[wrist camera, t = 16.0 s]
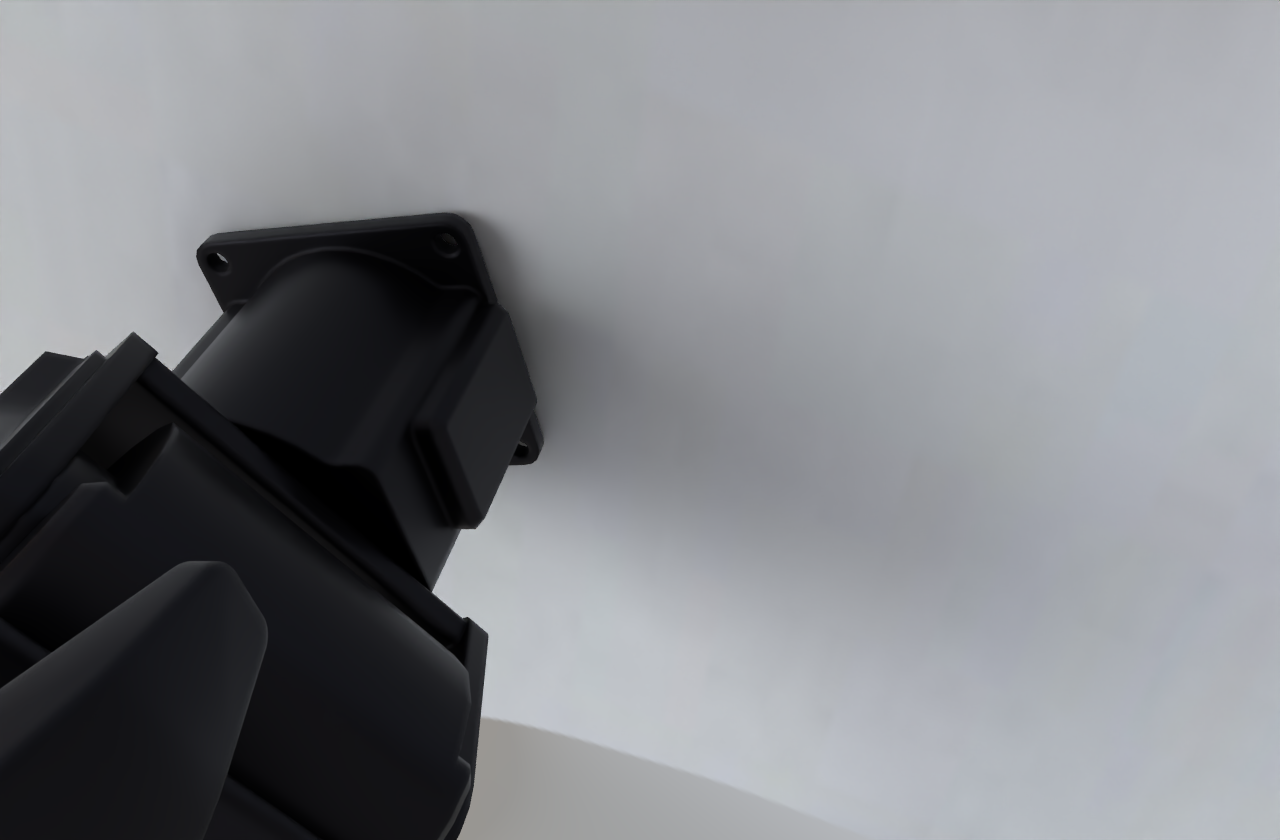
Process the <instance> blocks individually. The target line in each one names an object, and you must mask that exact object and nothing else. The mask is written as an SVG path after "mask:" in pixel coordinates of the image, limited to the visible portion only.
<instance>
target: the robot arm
mask: <svg viewBox="0 0 1280 840" xmlns="http://www.w3.org/2000/svg"><path fill="white" fill-rule="evenodd" d="M441 233H445V234H449V235H450V236H452V237H453V238H454V239H455V241H456V242H457V245H452V244H449V243H447V242H446V241H444V239H443V238H442V236H441ZM217 253H218V254H220V255H222V256H223V257H224V258H225V259H226V260H227V261H228V263H226V262H225V261H223V260H221V259H220V257H219V256H218V255H217ZM196 258H197V261H198V264H199V266H200V268H201V270H202V272H203V274H204V276H205V278H206V280H207V281H208V283H209V285H210V287H211V289H212V291H213V293H214V295H215V297H216V299H217V301H218V303H219V305H220V307H221V309H222V310H223V312H224V313H223V314H222V316H221V317H220V318H219V319H218V320H217V321H216V322H215V323H214V325H213V326H212V327H211V328H210V329H209V330H208V331H207V333H206V334H205V335H204V336H203V337H202V338H201V339H200V340H199V342H198V343H197V344H196V345H195V346H194V347H193V348H192V350H191V351H190V352H189V353H188V354H187V355H186V356H185V358H184V359H183V360H182V361H181V362H180V363H179V364H178V365H177V367H176V368H175V369H174V370H173V371H170V370H169V369H168V368H167V367H166V366H165V365H163V364H162V363H161V362H160V361H159V360H158V359H156V358H155V357H156V356H157V354H158V352H157V351H156V350H155V349H153V348H152V347H151V346H150V345H149V344H147V343H146V342H145V341H144V340H143V339H142V338H140V337H139V336H138V335H137V334H136V333H135V332H132V333H131V334H130V335H129V336H128V337H127V338H126V339H124V340H123V341H122V342H121V343H120V344H119V345H118V346H117V347H116V348H114V349H113V350H112V351H111V352H110V353H109V354H108V355H107V356H106V357H104V356H103V355H102V354H101V353H99V352H98V351H97V350H96V351H95V352H93V353H92V354H91V355H90V356H87V357H86V358H85V359H81V358H76V357H71V356H66V355H61V354H56V353H51V352H46V351H45V352H44V353H43V354H42V355H41V356H40V357H39V358H38V359H37V360H36V361H35V362H34V363H33V364H32V365H31V366H30V367H29V368H28V369H27V370H26V371H25V372H23V373H22V374H21V375H20V376H19V377H18V378H17V379H16V380H15V381H14V382H13V383H12V384H11V385H10V386H9V387H8V388H7V389H6V390H5V391H4V392H2V393H1V394H0V840H457V838H458V836H459V834H460V832H461V829H462V827H463V824H464V821H465V818H466V815H467V813H468V810H469V807H470V802H471V797H472V792H473V787H474V778H475V768H476V757H477V747H478V737H479V727H480V717H481V707H482V697H483V687H484V676H485V666H486V656H487V646H488V633H486V632H485V631H484V630H483V629H482V628H480V627H479V626H478V625H477V624H476V623H475V622H473V621H472V620H471V619H470V618H468V617H466V618H463V619H462V618H461V617H460V616H459V615H458V614H457V613H455V612H454V611H453V610H452V609H451V608H449V607H448V606H447V605H446V604H445V603H444V602H442V601H441V600H440V599H439V598H438V597H436V596H435V595H434V594H433V593H432V591H433V588H434V586H435V584H436V582H437V580H438V578H439V576H440V573H441V571H442V569H443V567H444V565H445V563H446V561H447V558H448V556H449V554H450V552H451V550H452V548H453V546H454V544H455V541H456V539H457V537H458V535H459V533H460V531H461V529H476V528H477V527H478V525H479V524H480V523H481V522H482V521H483V520H484V518H485V516H486V514H487V512H488V510H489V508H490V505H491V503H492V501H493V499H494V496H495V494H496V492H497V490H498V488H499V485H500V483H501V481H502V479H503V476H504V474H505V472H506V470H507V468H508V465H527V464H532V463H533V462H534V461H536V460H537V458H538V456H539V454H540V451H541V449H542V447H543V444H544V441H543V435H542V432H541V429H540V426H539V423H538V420H537V417H536V414H535V412H534V408H535V405H536V403H537V398H536V394H535V391H534V388H533V385H532V382H531V379H530V376H529V373H528V370H527V367H526V364H525V361H524V358H523V355H522V352H521V349H520V346H519V343H518V340H517V337H516V334H515V331H514V328H513V325H512V322H511V319H510V316H509V313H508V312H507V311H506V310H505V309H504V308H503V307H502V306H501V305H500V304H498V301H497V298H496V295H495V292H494V289H493V286H492V283H491V281H490V278H489V275H488V272H487V269H486V266H485V263H484V260H483V257H482V254H481V251H480V248H479V245H478V242H477V239H476V236H475V233H474V231H473V229H472V227H471V225H470V224H469V223H468V222H467V221H466V220H465V219H464V218H462V217H460V216H458V215H456V214H453V213H436V214H425V215H414V216H404V217H393V218H382V219H371V220H360V221H349V222H338V223H327V224H316V225H305V226H294V227H283V228H272V229H261V230H250V231H239V232H228V233H217V234H214V235H211V236H210V237H209V238H208V239H207V240H206V241H205V242H204V243H203V244H202V245H201V246H200V247H199V248H198V249H197V255H196ZM519 441H521V442H523V443H525V444H526V445H527V446H522V445H520V444H518V443H519Z"/></svg>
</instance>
